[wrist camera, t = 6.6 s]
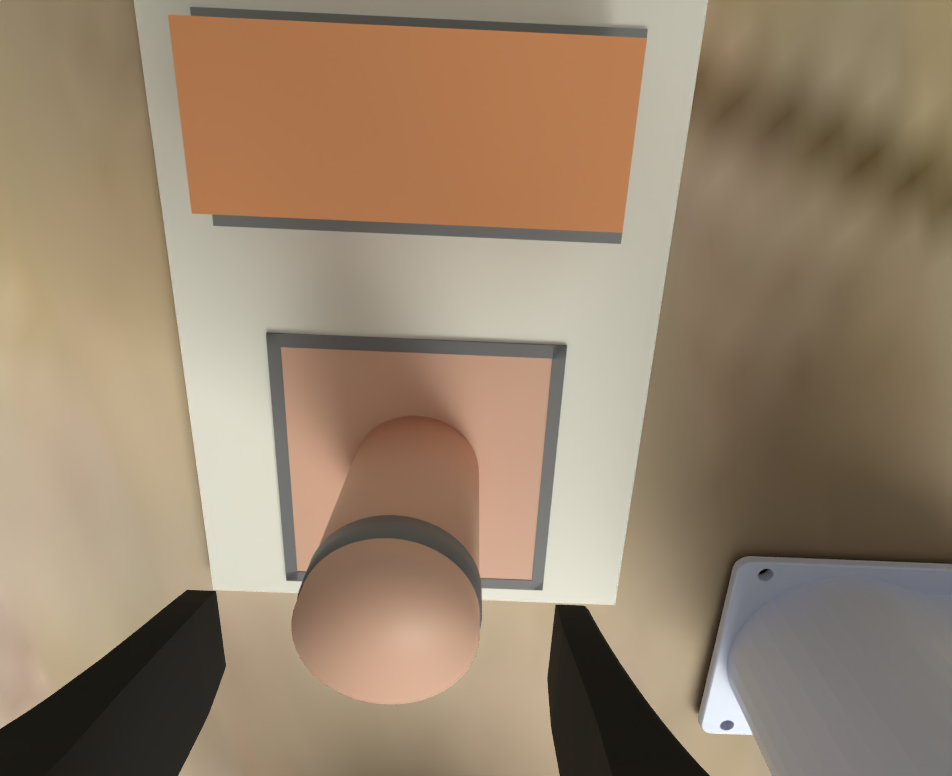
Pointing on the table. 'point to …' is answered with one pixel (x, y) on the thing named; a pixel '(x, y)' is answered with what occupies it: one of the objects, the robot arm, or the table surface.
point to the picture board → (427, 327)
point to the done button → (406, 123)
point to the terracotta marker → (397, 569)
